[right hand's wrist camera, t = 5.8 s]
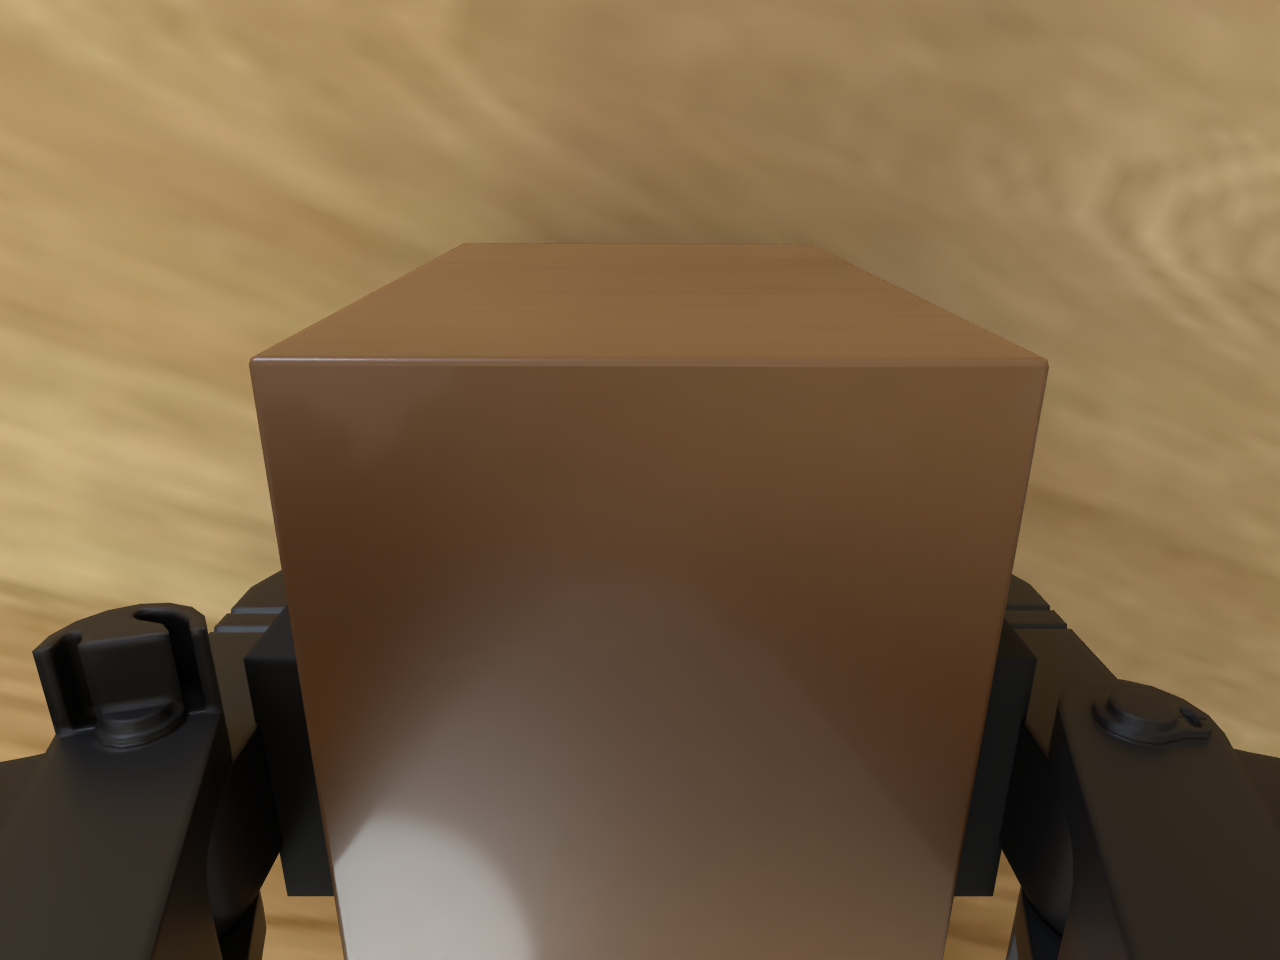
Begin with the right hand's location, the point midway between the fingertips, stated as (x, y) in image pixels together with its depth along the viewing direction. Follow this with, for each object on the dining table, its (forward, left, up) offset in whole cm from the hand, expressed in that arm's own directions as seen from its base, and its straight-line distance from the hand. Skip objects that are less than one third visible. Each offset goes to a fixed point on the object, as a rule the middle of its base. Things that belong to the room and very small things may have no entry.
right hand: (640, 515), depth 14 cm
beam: (-12, +22, -1) cm, 25 cm away
